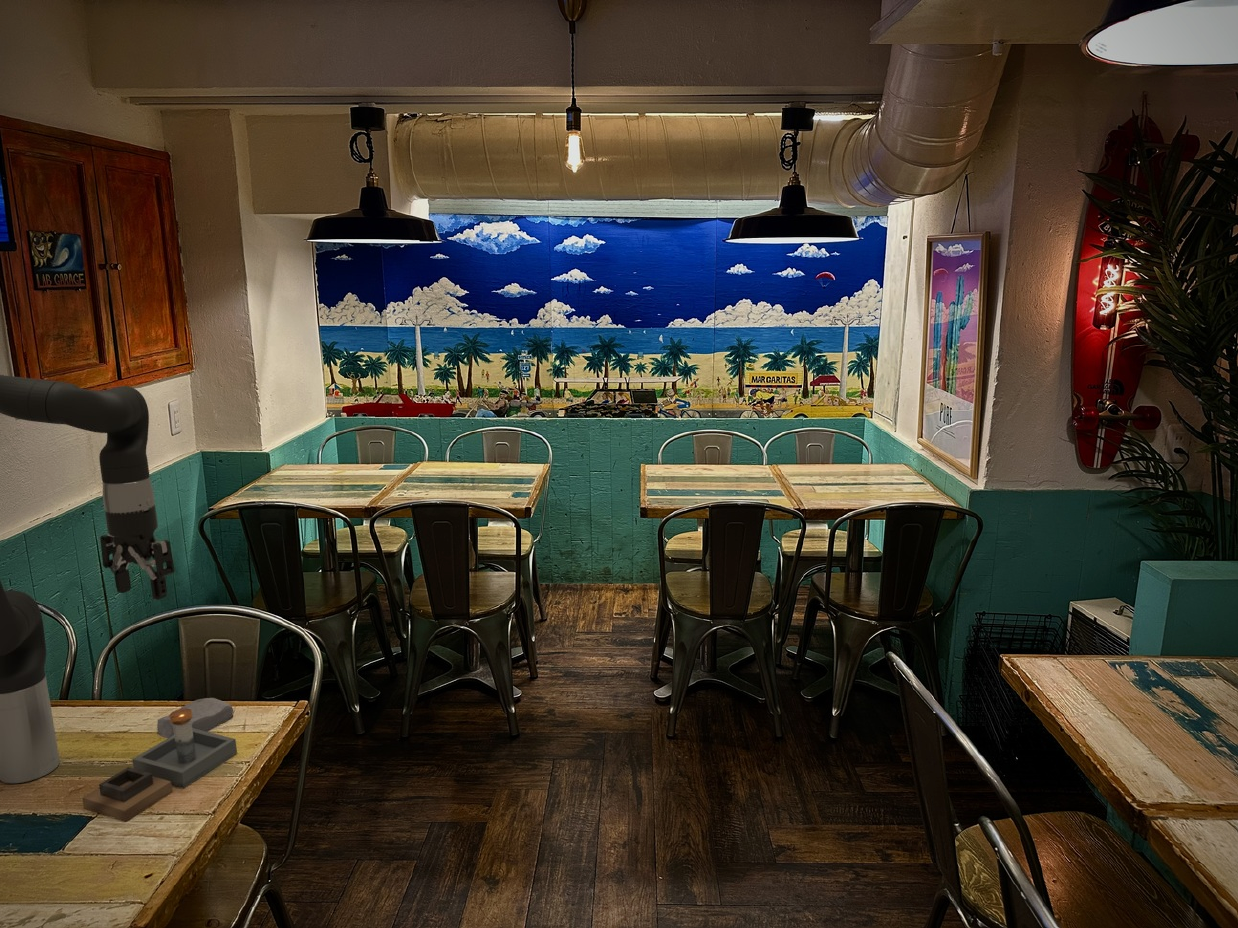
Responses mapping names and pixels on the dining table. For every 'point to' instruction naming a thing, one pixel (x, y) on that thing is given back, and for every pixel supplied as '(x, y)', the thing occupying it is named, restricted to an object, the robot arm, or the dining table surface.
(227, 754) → the tray
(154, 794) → the bracket
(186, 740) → the pin
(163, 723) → the stone block
